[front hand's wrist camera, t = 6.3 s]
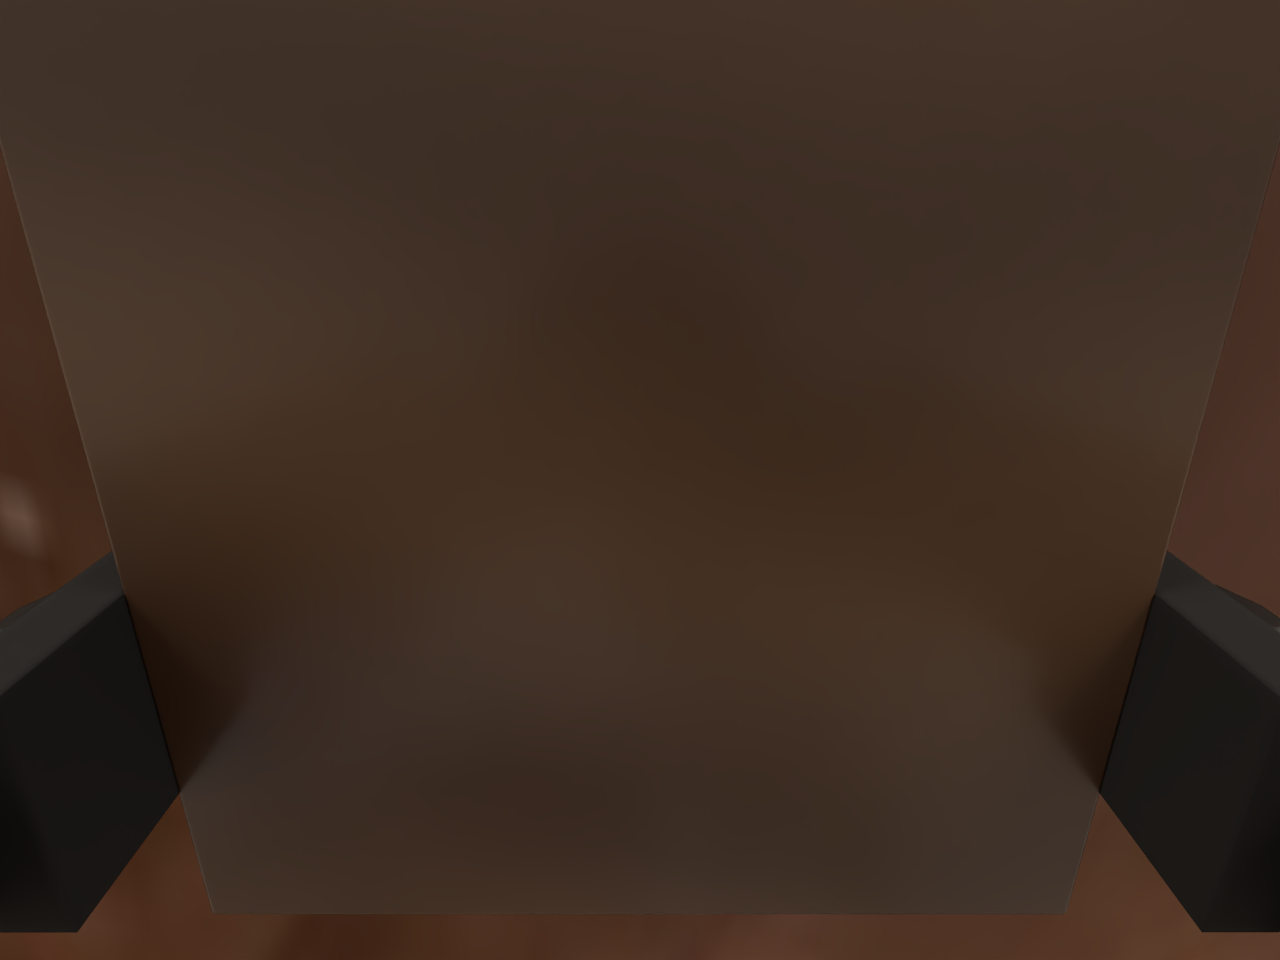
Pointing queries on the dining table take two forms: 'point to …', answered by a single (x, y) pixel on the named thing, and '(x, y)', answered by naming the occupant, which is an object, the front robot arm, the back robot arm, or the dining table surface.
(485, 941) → the dining table surface
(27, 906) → the front robot arm
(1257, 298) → the dining table surface
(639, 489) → the taupe rectangular block
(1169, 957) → the dining table surface
